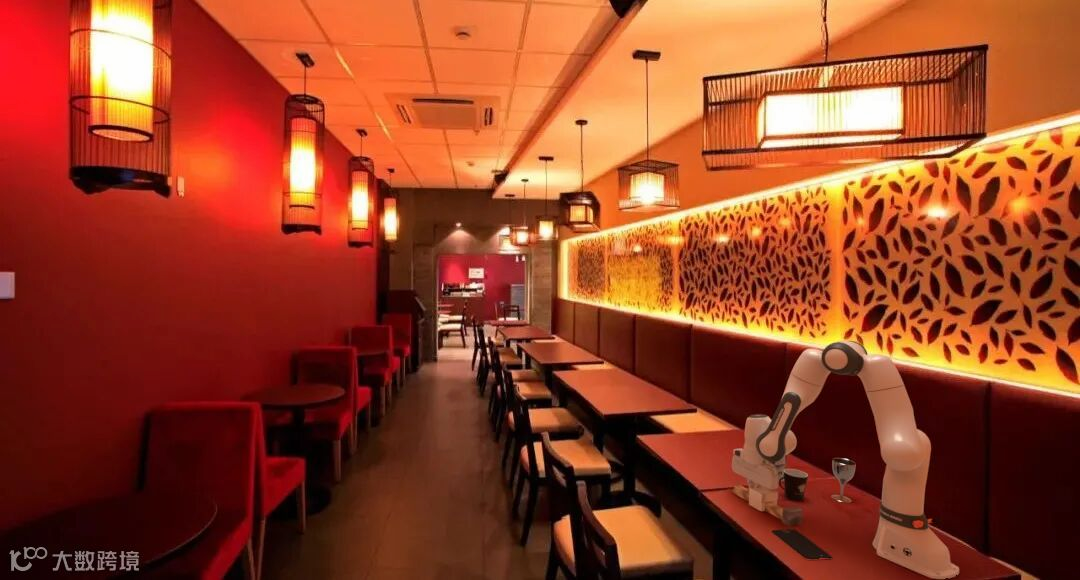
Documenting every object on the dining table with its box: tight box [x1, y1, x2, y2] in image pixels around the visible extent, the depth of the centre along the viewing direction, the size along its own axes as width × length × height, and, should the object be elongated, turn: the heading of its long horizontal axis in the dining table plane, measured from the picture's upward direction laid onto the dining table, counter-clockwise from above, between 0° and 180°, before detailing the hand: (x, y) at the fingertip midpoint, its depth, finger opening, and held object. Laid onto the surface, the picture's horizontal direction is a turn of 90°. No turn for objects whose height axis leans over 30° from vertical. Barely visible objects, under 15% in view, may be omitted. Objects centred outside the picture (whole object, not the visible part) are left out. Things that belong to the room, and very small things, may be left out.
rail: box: [733, 484, 803, 527], centre depth 196 cm, size 28×6×5 cm, turn 23°
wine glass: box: [830, 457, 856, 504], centre depth 209 cm, size 8×8×15 cm
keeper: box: [748, 486, 779, 512], centre depth 197 cm, size 6×8×6 cm
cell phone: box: [772, 528, 833, 559], centre depth 170 cm, size 9×18×1 cm, turn 10°
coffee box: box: [768, 454, 788, 483], centre depth 228 cm, size 9×6×16 cm
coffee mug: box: [778, 468, 809, 503], centre depth 207 cm, size 12×9×10 cm
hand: (753, 492), depth 202 cm, fingers closed
